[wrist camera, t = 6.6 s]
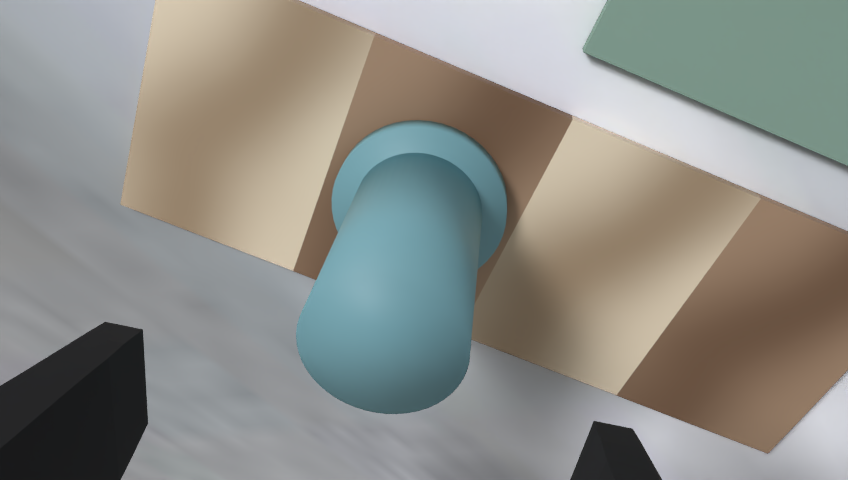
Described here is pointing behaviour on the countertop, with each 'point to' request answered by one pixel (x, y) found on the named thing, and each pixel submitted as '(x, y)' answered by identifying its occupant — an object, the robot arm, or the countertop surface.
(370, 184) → the pawn
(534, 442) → the countertop surface
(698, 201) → the track
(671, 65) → the felt pad
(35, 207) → the countertop surface
